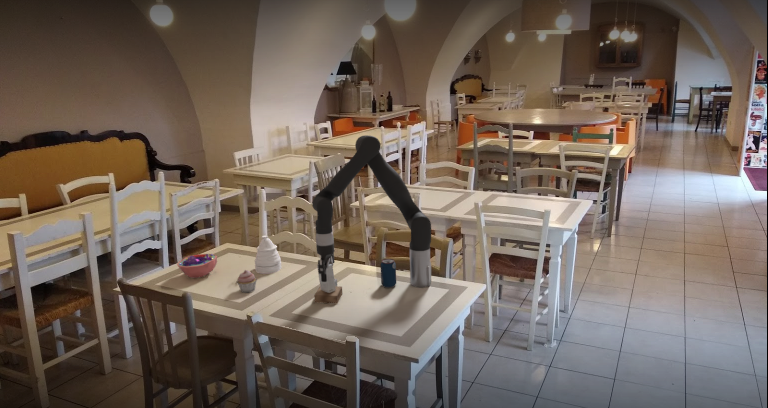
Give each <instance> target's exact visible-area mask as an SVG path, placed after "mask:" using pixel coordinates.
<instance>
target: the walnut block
mask: <svg viewBox="0 0 768 408" xmlns="http://www.w3.org/2000/svg"><path fill="white" fill-rule="evenodd" d="M335 287H336V290H335V291H333V292H331V293H327V292H325V291H322V290H321V288H320V286H319V288H318V289H317V290H316V292H315V293H314V296H313V297H314V304H339V302H340V300H341V298H342V295H343V286H339V285H337V286H335Z"/></svg>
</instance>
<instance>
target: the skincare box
mask: <svg viewBox="0 0 768 408" xmlns="http://www.w3.org/2000/svg"><path fill="white" fill-rule="evenodd" d="M316 266H317V269H318V264H316ZM333 267H334V264H333V265H332V264H329V266H328V269H327V272H326V275H327V281H326V282H322V281H321V274H319V273H318V272H317V273H318V280H319V287H320V288H321V290H322V291H325V292H327V293H331V292H333V291H335V290H336V287H335V280H334V279H335V274H334V273H335V272H334V269H333ZM320 269H321V268H320ZM322 271H323V269H322Z"/></svg>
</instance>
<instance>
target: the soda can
mask: <svg viewBox="0 0 768 408" xmlns="http://www.w3.org/2000/svg"><path fill="white" fill-rule="evenodd" d="M396 265H397V264H396V262H395V259H394V258H384V259H382V260H381V262H380V284H381V285H382V287H383V288H388V289H391V288H394V287H395V286H396V284H397V266H396Z"/></svg>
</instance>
